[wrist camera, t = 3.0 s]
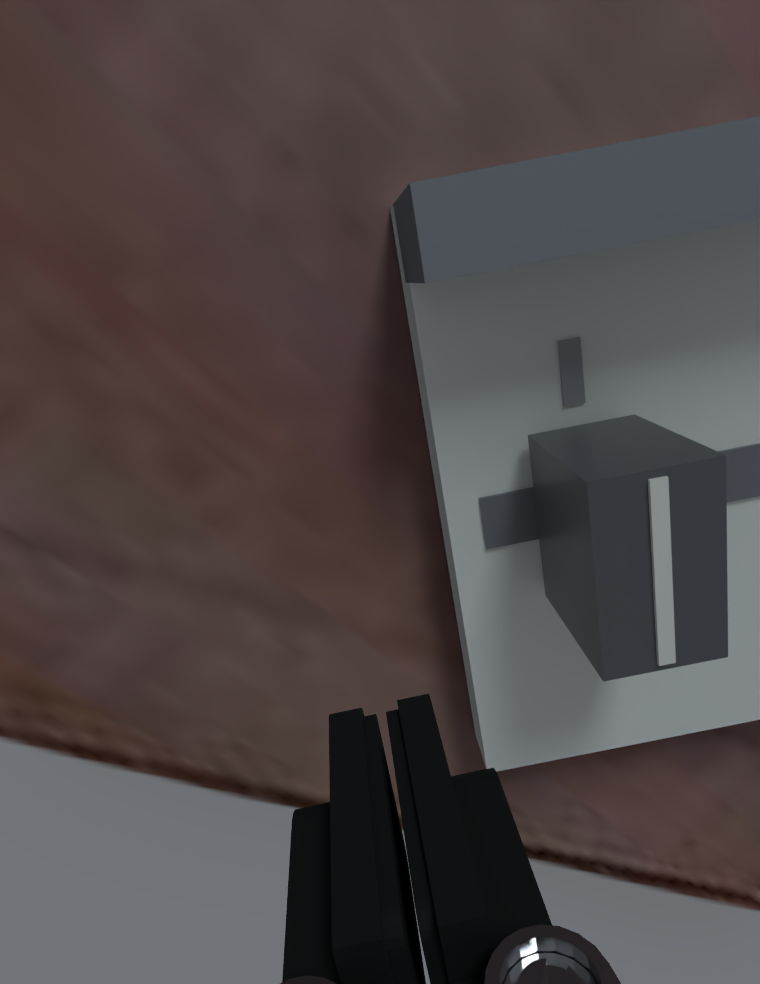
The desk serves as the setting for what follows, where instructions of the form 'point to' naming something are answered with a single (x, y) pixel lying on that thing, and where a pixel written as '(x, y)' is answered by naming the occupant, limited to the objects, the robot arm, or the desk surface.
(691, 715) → the console
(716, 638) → the fader knob
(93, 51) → the desk surface
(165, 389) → the desk surface
